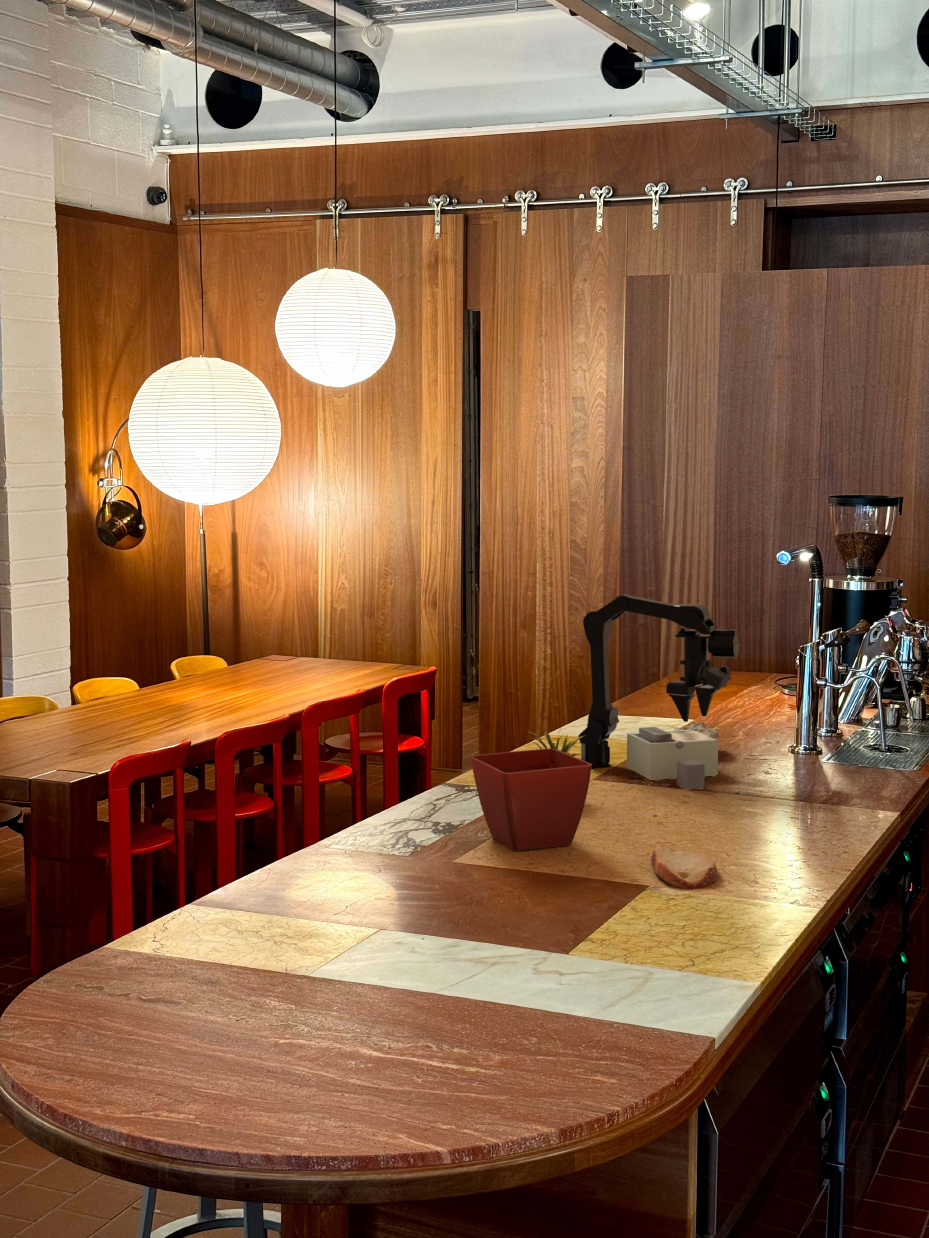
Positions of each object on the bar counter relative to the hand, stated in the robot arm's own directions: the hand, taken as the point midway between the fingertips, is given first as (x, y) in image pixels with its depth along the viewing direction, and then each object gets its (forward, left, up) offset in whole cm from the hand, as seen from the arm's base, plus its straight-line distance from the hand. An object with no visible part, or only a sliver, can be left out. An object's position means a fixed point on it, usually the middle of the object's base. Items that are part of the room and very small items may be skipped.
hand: (694, 718), depth 332 cm
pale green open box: (-5, +4, -14) cm, 15 cm away
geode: (+10, +23, -14) cm, 29 cm away
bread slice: (-38, -75, -15) cm, 85 cm away
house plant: (-42, -13, -14) cm, 46 cm away
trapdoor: (-3, +4, -7) cm, 9 cm away
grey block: (-7, -12, -14) cm, 20 cm away
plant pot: (-58, -47, -14) cm, 76 cm away
